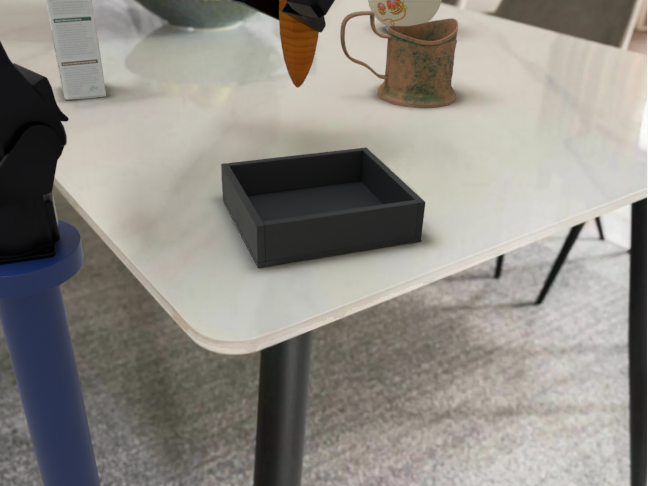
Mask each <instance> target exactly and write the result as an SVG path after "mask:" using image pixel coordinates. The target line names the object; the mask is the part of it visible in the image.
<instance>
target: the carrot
mask: <svg viewBox="0 0 648 486" xmlns="http://www.w3.org/2000/svg"><path fill="white" fill-rule="evenodd" d="M286 3H287V0H279V20H278V22H279V23H278V25H279V38H280V44H281V50H282V56H283V60H284V64H285V67H286V71H287V73H288V75H289V78H290V80H291V82H292V84H293V85H294V87H295V88H297V89H298V88H300V87H301V86H302V85H303V84H304V82H305V81H306V79H307V77H308V76H309V73H310V71H311V68H312V66H313V63H314V59H315V55H316V50H317V45H318V40H319V33H320V32H318V31H316V30H314V29H312V28H310V27H308V26H306V25H305V24H303V23H301V22H299V21H297V20H296V19H294V18H292V17H290V16H288V15H287V14H285V13H283V12H282V10H283V8H284V7H285V5H286Z"/></svg>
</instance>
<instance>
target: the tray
mask: <svg viewBox="0 0 648 486" xmlns="http://www.w3.org/2000/svg"><path fill="white" fill-rule="evenodd" d="M220 169H221V170H220V171H221V172H220V173H221V188H222V189H221V192H222V201H223V203H224V205H225V207H226V210H227V211H228V213H229V215H230V216H231V219H232V221H233V223H234V225H235V226H236V228H237V231H238V232H239V234H240V236H241V238H242V240H243V243H244V244H245V246H246V248H247V250H248V252H249V254H250V255H251V257H252V259H253V261H254V263H255V266H256V267H257V268H264V267H265V268H266V267H271V266H277V265H282V264H289V263H295V262H301V261H307V260H313V259H320V258H325V257H326V258H327V257H330V256H331V257H332V256H338V255H344V254H350V253H356V252H361V251H362V252H363V251H369V250H375V249H381V248H387V247H393V246H399V245H400V246H401V245H405V244H411V243H418V242H422V235H423V226H424V221H425V220H424V218H425V211H426V210H425V209H426V201H425V200H424V199H423V198H422V197H421V196H420V195H419V194H417V192H415V191H414V190H413V189H412V188H411V187H410V186H409V185H408V184H407V183H406V182H404V180H402V178H400V177H399V176H398V175H397V174H396V173H395V172H394V171H392V170H391V169H390V168H389V167H388V166H387V165H386V164H385V163H384V162H383V161H381V159H380V158H378V156H376V154H374V152H372V151H371V150H370V149H369V148H368V147H358V148H349V149H341V150H332V151H331V150H330V151H323V152H314V153H313V152H312V153H303V154H297V155H288V156H287V155H286V156H278V157H269V158H260V159H251V160H244V161H243V160H242V161H234V162H226V163H224V162H223V163H221V164H220Z"/></svg>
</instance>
